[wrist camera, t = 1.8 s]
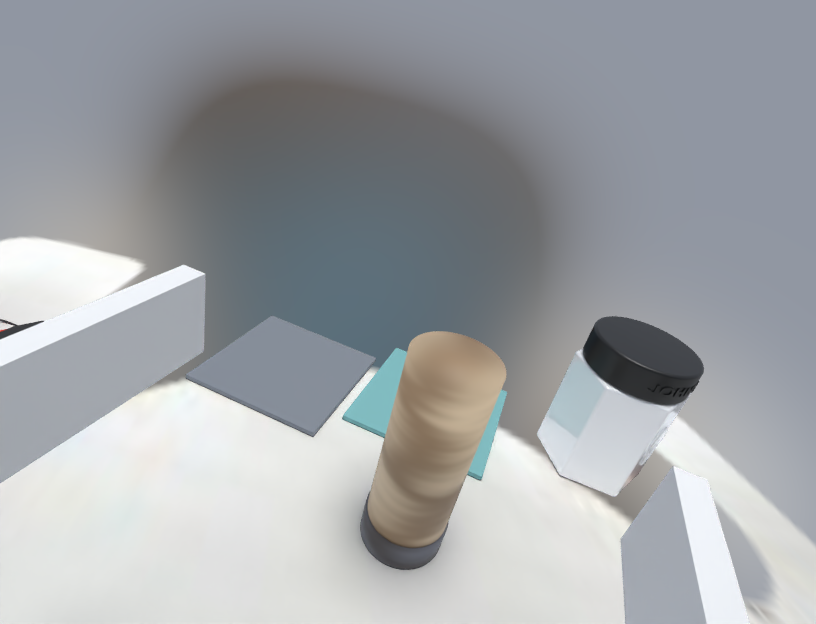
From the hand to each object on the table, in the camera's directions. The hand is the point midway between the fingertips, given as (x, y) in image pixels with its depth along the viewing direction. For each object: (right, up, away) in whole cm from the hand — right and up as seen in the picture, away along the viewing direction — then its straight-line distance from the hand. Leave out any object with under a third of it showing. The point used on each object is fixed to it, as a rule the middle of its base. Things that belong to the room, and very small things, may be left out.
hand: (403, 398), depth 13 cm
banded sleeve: (0, -12, +18) cm, 22 cm away
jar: (+16, -10, +29) cm, 34 cm away
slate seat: (-11, -3, +30) cm, 32 cm away
